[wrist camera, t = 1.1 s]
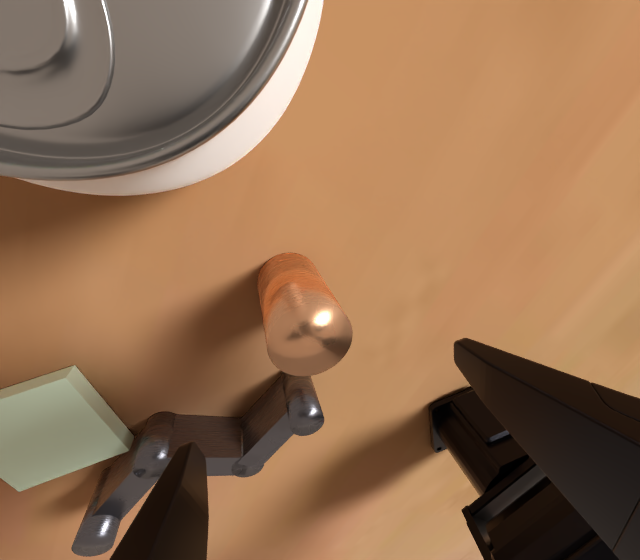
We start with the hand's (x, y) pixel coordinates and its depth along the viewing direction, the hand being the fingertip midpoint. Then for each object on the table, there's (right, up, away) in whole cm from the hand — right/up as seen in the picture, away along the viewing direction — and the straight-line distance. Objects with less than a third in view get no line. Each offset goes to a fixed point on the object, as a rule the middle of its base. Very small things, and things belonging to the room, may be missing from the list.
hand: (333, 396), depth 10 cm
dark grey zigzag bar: (-8, -6, +11) cm, 15 cm away
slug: (-2, +4, +8) cm, 9 cm away
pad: (-16, -5, +8) cm, 19 cm away
